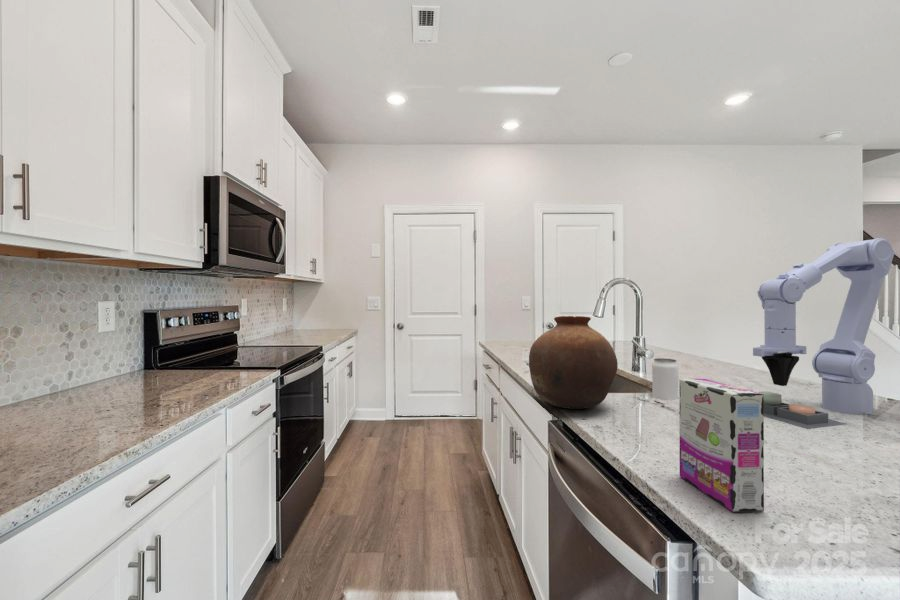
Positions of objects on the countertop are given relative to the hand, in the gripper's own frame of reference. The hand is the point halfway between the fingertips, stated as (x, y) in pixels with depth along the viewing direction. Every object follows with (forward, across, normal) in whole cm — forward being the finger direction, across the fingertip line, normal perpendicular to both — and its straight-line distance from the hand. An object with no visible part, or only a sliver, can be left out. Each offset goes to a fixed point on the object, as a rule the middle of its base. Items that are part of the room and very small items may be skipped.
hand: (780, 384), depth 92 cm
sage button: (+5, 0, -2) cm, 6 cm away
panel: (+8, 0, -2) cm, 9 cm away
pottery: (+9, +42, -24) cm, 49 cm away
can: (+9, +14, -21) cm, 26 cm away
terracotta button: (+6, 0, +5) cm, 8 cm away
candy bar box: (+9, +46, +23) cm, 52 cm away
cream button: (+5, 0, -9) cm, 11 cm away
